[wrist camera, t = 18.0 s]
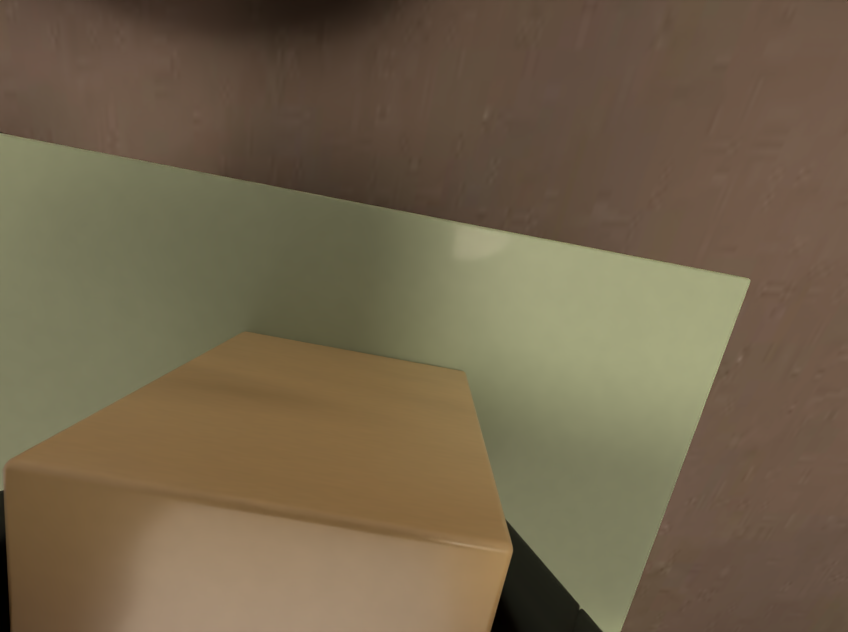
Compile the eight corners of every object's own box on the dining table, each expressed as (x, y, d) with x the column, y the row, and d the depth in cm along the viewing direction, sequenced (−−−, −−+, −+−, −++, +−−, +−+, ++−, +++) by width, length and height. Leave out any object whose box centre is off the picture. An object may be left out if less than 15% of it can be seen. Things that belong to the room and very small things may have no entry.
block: (424, 556, 10) (423, 883, 5) (225, 522, 10) (15, 827, 5) (467, 370, 9) (518, 550, 4) (243, 329, 9) (-3, 461, 4)
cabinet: (525, 479, 19) (604, 677, 11) (196, 422, 18) (3, 582, 10) (588, 254, 17) (753, 278, 8) (212, 181, 16) (-22, 128, 8)
